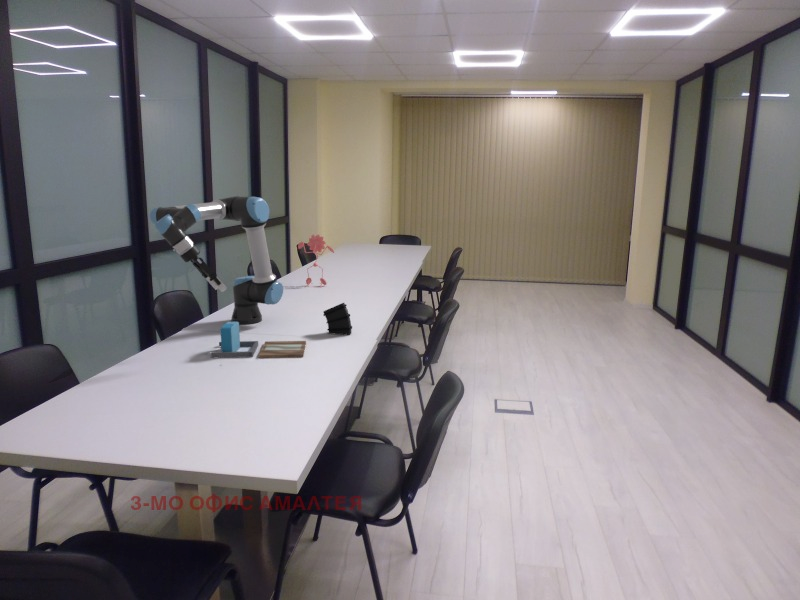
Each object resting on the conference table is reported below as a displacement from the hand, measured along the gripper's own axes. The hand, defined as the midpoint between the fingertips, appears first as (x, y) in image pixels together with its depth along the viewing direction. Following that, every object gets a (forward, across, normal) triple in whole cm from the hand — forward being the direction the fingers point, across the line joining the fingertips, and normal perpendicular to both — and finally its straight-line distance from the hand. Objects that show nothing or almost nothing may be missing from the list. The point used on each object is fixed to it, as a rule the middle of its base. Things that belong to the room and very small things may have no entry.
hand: (221, 289), depth 240 cm
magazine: (+53, -6, +28) cm, 60 cm away
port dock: (+36, +9, +2) cm, 37 cm away
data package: (+23, 0, -14) cm, 27 cm away
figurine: (+62, -126, +64) cm, 154 cm away
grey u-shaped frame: (+24, +1, -13) cm, 27 cm away
